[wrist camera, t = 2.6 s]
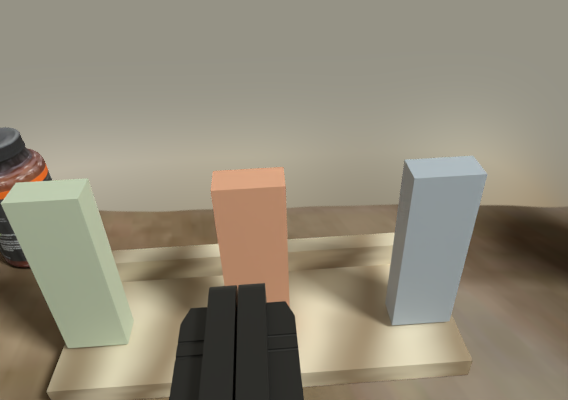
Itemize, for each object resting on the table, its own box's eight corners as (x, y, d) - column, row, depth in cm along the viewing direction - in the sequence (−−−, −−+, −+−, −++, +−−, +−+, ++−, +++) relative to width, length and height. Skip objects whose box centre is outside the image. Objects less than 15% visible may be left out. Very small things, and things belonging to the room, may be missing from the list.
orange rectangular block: (231, 336, 32) (210, 190, 25) (232, 314, 34) (212, 171, 27) (290, 332, 32) (285, 186, 25) (288, 310, 34) (283, 166, 27)
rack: (53, 405, 30) (35, 372, 28) (101, 273, 40) (90, 242, 38) (467, 374, 31) (478, 340, 29) (415, 253, 41) (421, 221, 39)
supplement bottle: (77, 223, 46) (39, 116, 40) (71, 263, 41) (26, 150, 35) (11, 234, 45) (-39, 126, 38) (-3, 277, 40) (-63, 162, 34)
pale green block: (68, 348, 32) (0, 203, 25) (76, 324, 33) (15, 182, 26) (127, 344, 32) (77, 198, 25) (133, 320, 33) (88, 178, 27)
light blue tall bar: (392, 325, 32) (414, 178, 26) (385, 303, 34) (404, 159, 27) (449, 321, 33) (487, 174, 26) (439, 299, 34) (473, 155, 27)
